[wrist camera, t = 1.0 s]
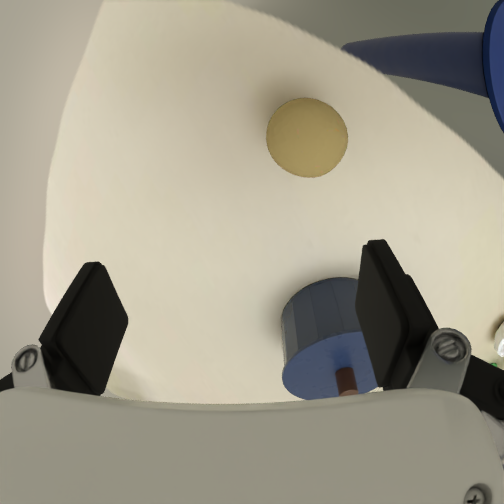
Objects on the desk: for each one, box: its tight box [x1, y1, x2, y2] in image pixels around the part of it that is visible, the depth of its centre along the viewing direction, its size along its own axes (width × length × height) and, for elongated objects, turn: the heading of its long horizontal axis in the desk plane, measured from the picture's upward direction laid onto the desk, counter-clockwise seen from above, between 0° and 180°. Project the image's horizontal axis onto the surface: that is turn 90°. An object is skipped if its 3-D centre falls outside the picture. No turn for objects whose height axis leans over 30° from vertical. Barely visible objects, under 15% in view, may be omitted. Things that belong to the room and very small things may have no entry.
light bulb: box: [266, 98, 348, 177], centre depth 25 cm, size 6×6×10 cm
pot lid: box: [282, 329, 378, 400], centre depth 35 cm, size 16×16×4 cm
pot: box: [281, 278, 361, 366], centre depth 40 cm, size 15×15×10 cm
